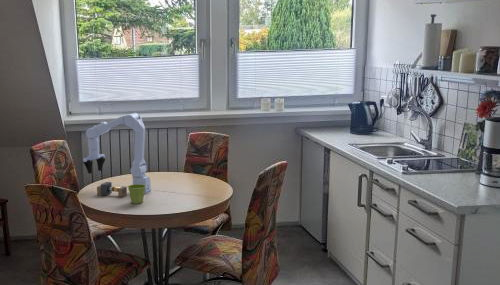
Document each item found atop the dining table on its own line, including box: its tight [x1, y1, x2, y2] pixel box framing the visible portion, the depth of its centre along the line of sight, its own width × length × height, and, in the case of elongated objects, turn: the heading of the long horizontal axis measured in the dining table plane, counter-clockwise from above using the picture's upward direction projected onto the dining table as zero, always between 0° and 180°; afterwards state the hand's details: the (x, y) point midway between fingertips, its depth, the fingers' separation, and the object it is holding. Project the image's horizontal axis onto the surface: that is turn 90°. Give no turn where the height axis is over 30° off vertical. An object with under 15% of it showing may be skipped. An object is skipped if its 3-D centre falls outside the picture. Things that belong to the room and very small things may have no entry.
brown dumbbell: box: [96, 184, 128, 198], centre depth 289 cm, size 15×5×5 cm, turn 74°
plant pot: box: [127, 184, 146, 205], centre depth 275 cm, size 9×9×9 cm
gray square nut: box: [100, 181, 113, 196], centre depth 290 cm, size 3×6×6 cm, turn 164°
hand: (95, 171), depth 301 cm, fingers open, 7 cm apart
